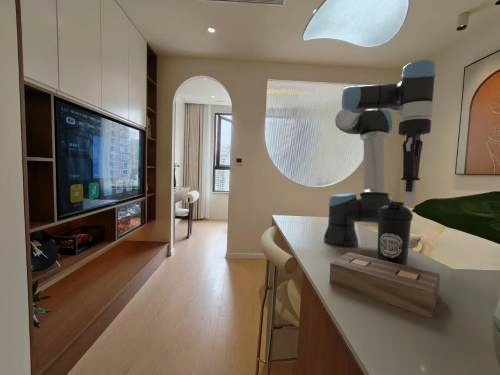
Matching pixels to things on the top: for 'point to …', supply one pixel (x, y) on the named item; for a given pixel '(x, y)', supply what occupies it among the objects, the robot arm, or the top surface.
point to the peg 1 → (360, 262)
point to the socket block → (387, 282)
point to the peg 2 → (408, 275)
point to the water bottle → (394, 232)
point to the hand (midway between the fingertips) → (409, 202)
